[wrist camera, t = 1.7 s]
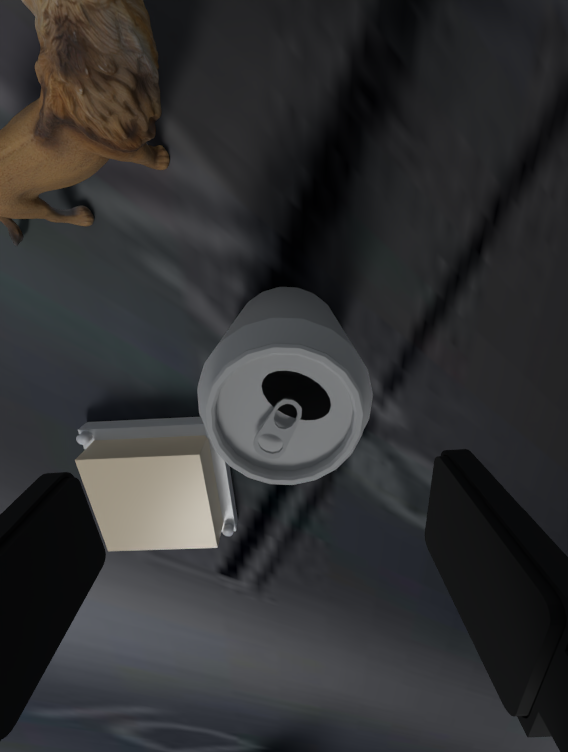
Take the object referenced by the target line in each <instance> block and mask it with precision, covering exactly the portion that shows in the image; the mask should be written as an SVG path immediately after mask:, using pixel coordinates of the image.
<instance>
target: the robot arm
mask: <svg viewBox="0 0 568 752" xmlns="http://www.w3.org/2000/svg"><path fill="white" fill-rule="evenodd" d="M425 541H426V545H427V548H428V550H429V552H430V554H431V556H432V558H433V560H434V563H435V565H436V567H437V569H438V571H439V573H440V575H441V577H442V579H443V581H444V583H445V585H446V587H447V589H448V592H449V594H450V596H451V598H452V600H453V602H454V604H455V606H456V608H457V610H458V612H459V614H460V616H461V618H462V621H463V623H464V625H465V627H466V629H467V631H468V633H469V635H470V637H471V639H472V641H473V643H474V645H475V647H476V650H477V652H478V654H479V656H480V658H481V660H482V662H483V664H484V666H485V668H486V670H487V672H488V674H489V677H490V679H491V681H492V683H493V685H494V687H495V689H496V691H497V693H498V695H499V697H500V699H501V701H502V703H503V705H504V707H505V709H506V710H507V711H508V713H509V714H510V715H511V716H517V717H518V719H519V721H520V723H521V725H522V727H523V729H524V731H525V733H526V735H527V737H548V736H552V737H553V739H554V741H555V743H556V745H557V746H558V748H559V750H560V752H568V557H567V556H566V555H565V554H564V553H563V552H562V551H561V549H560V548H559V547H558V546H557V545H556V544H555V543H554V542H553V541H552V540H551V539H550V537H549V536H548V535H547V534H546V533H545V532H544V531H543V530H542V529H541V528H540V527H539V525H538V524H537V523H536V522H535V521H534V520H533V519H532V518H531V517H530V516H529V514H528V513H527V512H526V511H525V510H524V509H523V508H522V507H521V506H520V505H519V504H518V503H517V502H516V501H515V500H514V498H513V497H512V496H511V495H510V494H509V493H508V492H507V491H506V490H505V489H504V488H503V486H502V485H501V484H500V483H499V482H498V481H497V480H496V479H495V478H494V477H493V476H492V474H491V473H490V472H489V471H488V470H487V469H486V468H485V467H484V466H483V465H482V463H481V462H480V461H479V460H478V459H477V458H476V457H475V456H474V455H473V454H472V453H471V452H470V451H469V450H467V449H461V450H445V451H443V452H442V453H441V456H440V457H436V458H435V461H434V468H433V475H432V483H431V490H430V498H429V506H428V513H427V521H426V528H425ZM105 556H106V553H105V549H104V546H103V543H102V541H101V538H100V535H99V532H98V530H97V527H96V524H95V522H94V519H93V516H92V514H91V511H90V508H89V505H88V503H87V500H86V497H85V495H84V492H83V489H82V486H81V484H80V481H79V480H78V479H77V478H74V476H73V475H72V474H71V473H68V472H63V473H47V474H43V475H42V476H40V477H39V478H38V479H37V480H36V481H35V482H34V483H33V484H32V485H31V486H30V487H29V488H28V489H27V490H25V491H24V492H23V493H22V494H21V495H20V496H19V497H18V498H17V499H16V500H15V501H14V502H13V503H12V504H11V505H10V506H9V507H8V508H7V509H6V510H5V511H4V512H3V513H2V514H1V515H0V741H1V739H3V738H5V737H6V736H7V735H8V734H9V733H10V732H11V731H12V729H13V727H14V726H15V724H16V723H17V721H18V719H19V717H20V715H21V714H22V712H23V710H24V708H25V706H26V704H27V703H28V701H29V699H30V697H31V695H32V694H33V692H34V690H35V688H36V686H37V685H38V683H39V681H40V679H41V677H42V676H43V674H44V672H45V670H46V668H47V666H48V665H49V663H50V661H51V659H52V657H53V656H54V654H55V652H56V650H57V648H58V647H59V645H60V643H61V641H62V639H63V637H64V636H65V634H66V632H67V630H68V628H69V627H70V625H71V623H72V621H73V619H74V618H75V616H76V614H77V612H78V610H79V609H80V607H81V605H82V603H83V601H84V599H85V598H86V596H87V594H88V592H89V590H90V589H91V587H92V585H93V583H94V581H95V580H96V578H97V576H98V574H99V572H100V570H101V569H102V567H103V565H104V562H105Z"/></svg>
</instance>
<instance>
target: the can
mask: <svg viewBox="0 0 568 752" xmlns="http://www.w3.org/2000/svg"><path fill="white" fill-rule="evenodd" d="M197 392H198V405H199V414H200V416H201V418H202V421H203V423H204V425H205V429H206V432H207V434H208V436H209V439H210V441H211V443H212V445H213V448H214V449H215V451H216V452H217V453H218V454H219V455H220V456H221V457H222V458H223V460H224V461H225V462H226V463H227V464H228V465H229V466H230V467H232V468H234V469H235V470H237V471H239V472H240V473H242V474H243V475H245V476H247V477H248V478H252V479H255V480H258V481H262V482H265V483H268V484H284V485H295V484H299V483H304V482H308V481H313V480H316V479H318V478H320V477H322V476H324V475H326V474H328V473H330V472H332V471H334V470H336V469H337V468H338V467H339V466H340V465H341V464H342V463H343V462H344V461H345V460H346V459H347V458H348V457H349V456H350V455H351V454H352V453H353V451H354V449H355V447H356V445H357V443H358V441H359V439H360V438H361V436H362V432H363V430H364V428H365V426H366V424H367V422H368V420H369V417H370V410H371V404H372V397H373V393H372V388H371V383H370V378H369V374H368V369H367V368H366V366H365V364H364V363H363V361H362V360H361V358H360V356H359V355H358V353H357V351H356V350H355V348H354V347H353V345H352V343H351V342H350V340H349V338H348V337H347V335H346V334H345V332H344V330H343V329H342V327H341V325H340V324H339V322H338V321H337V319H336V317H335V316H334V314H333V313H332V311H331V309H330V308H329V306H328V305H327V304H326V303H325V302H324V301H322V300H321V299H320V298H319V297H317V296H316V295H315V294H313V293H311V292H308V291H305V290H303V289H300V288H297V287H277V288H274V289H270V290H267V291H264V292H261V293H260V294H259V295H257V296H256V297H254V298H253V299H252V300H250V301H249V302H248V303H247V304H246V305H245V307H244V308H243V309H242V311H241V312H240V314H239V315H238V316H237V318H236V319H235V321H234V322H233V323H232V325H231V326H230V328H229V329H228V331H227V332H226V333H225V335H224V336H223V338H222V339H221V341H220V342H219V343H218V345H217V346H216V348H215V349H214V351H213V352H212V353H211V355H210V356H209V358H208V359H207V361H206V362H205V363H204V366H203V370H202V373H201V377H200V380H199V384H198V387H197Z"/></svg>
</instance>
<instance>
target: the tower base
mask: <svg viewBox="0 0 568 752" xmlns="http://www.w3.org/2000/svg"><path fill="white" fill-rule="evenodd" d="M78 432H79V435H78V436H77V438H76V440H77V442H78V443H79V444H81V445H83V446H84V449H85V450H84V451H83V452H82V453H81V454H80V455H79V456H78V457H77V458H76V459H75V462H76V465H77V467H78V470H79V473H80V476H81V478H82V481H83V484H84V486H85V489H86V492H87V495H88V497H89V500H90V503H91V506H92V508H93V511H94V514H95V516H96V519H97V522H98V525H99V527H100V530H101V533H102V535H103V538H104V541H105V544H106V546H107V549H108V551H133V550H163V549H193V548H218V543H219V539H220V535H221V532H223V534H224V535H225V536H231V535H232V534H233V531H236V528H237V523H238V518H237V511H236V504H235V498H234V491H233V485H232V478H231V472H230V466H229V465H228V464H227V463H226V462H225V461H224V460H223V458H222V457H221V456H220V455H219V454H218V453H217V452H216V451H215V449H214V448H213V445H212V443H211V441H210V439H209V436H208V434H207V432H206V429H205V425H204V423H203V421H202V418H201V417H182V418H161V419H141V420H120V421H99V422H86V423H85V424H84V425H83V426H82V427H81V428H80V429H79V430H78Z"/></svg>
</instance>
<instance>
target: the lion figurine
mask: <svg viewBox="0 0 568 752" xmlns="http://www.w3.org/2000/svg"><path fill="white" fill-rule="evenodd" d="M22 2H23V3H24V4H25V5H26V6H27V7H28V8H29V9H30V11H31V12H32V13H33V14H34V15H35V28H36V31H37V35H38V39H39V42H40V46H41V48H40V54H39V56H38V61H36V63H35V71H36V75H37V78H38V81H39V83H40V84H41V95H40V98H39V99H37V100H36V101H34V102H33V103H31V104H29V105H28V106H27V107H25V108H24V109H23V110H22V111H20V112H19V113H18V114H17V115H15V116H14V117H13V118H12V119H11V121H10V122H9V123H8V124H7V125H6V126H5V127H4V128H3V129H1V130H0V221H1V222H3V223H4V224H5V225H6V227H7V228H8V230H9V235H10V237H11V239H12V241H13V243H14V244H15V245H16V246H18V244H19V243H20V242H21V241H22V240H23V234H22V231H21V230H20V228H19V226H18V225H17V224H16V223H15V222H14V221H13V220H12V219H11V218H13V219H35V218H39V219H46V220H49V221H51V222H63V223H71V224H75V225H80V226H90V225H92V224H93V221H94V217H93V214H92V213H91V211H90V210H89V208H87V207H85V206H76V207H74V208H72V209H67V210H60V209H55V208H52V207H51V206H50V205H49V204H47V203H46V202H45V201H43V200H42V199H40V198H39V197H38V196H39V194H40V193H43V192H46V191H50V190H55V189H60V188H65V187H69V186H73V185H75V184H78V183H80V182H82V181H84V180H86V179H87V178H89V177H91V176H92V175H93V174H95V173H96V172H97V171H98V170H99V169H100V168H101V167H102V166H103V165H104V164H105V163H106V162H107V161H108V160H109V159H115V160H119V161H126V162H134V163H138V164H142V165H145V166H147V167H150V168H153V169H157V170H164V169H166V168H167V167H168V165H169V161H170V160H169V154H168V152H167V151H166V150H165V149H164V147H163V146H162V145H158V146H155V147H153V146H150V145H147V144H146V142H147V141H149V140H151V139H153V138H154V137H155V132H156V127H155V121H156V120H157V119H159V118H160V116H161V104H160V89H159V85H158V80H159V74H158V69H159V66H158V52H157V50H156V43H155V41H154V39H153V34H152V30H151V25H150V17H149V14H148V11H147V10H146V8H145V5H144V2H143V0H22Z"/></svg>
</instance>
